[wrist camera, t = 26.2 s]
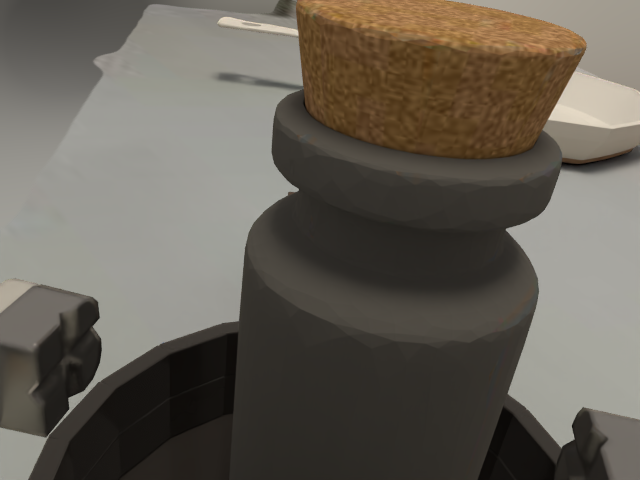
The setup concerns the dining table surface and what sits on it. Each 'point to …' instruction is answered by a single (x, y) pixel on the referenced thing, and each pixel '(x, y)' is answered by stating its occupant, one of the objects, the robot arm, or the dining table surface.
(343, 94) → the bottle
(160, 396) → the dark low round container
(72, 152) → the dining table surface
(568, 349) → the dining table surface
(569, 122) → the pan
